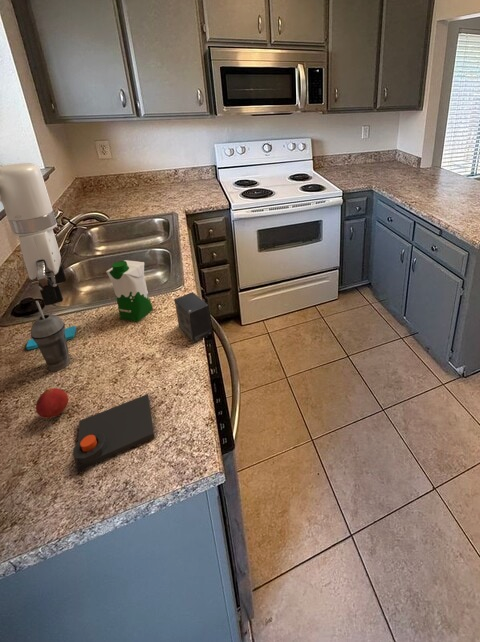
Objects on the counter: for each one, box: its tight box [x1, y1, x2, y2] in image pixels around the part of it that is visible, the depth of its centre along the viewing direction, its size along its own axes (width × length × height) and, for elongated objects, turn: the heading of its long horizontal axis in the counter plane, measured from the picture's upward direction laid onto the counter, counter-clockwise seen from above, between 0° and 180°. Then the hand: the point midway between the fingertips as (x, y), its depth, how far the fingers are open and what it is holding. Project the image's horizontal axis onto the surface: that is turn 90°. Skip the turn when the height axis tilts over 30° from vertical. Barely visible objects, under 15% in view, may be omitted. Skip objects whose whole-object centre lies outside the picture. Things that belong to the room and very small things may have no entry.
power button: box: [80, 435, 97, 452], centre depth 72 cm, size 3×3×2 cm
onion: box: [35, 386, 69, 419], centre depth 81 cm, size 6×6×8 cm
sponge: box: [25, 325, 77, 351], centre depth 107 cm, size 2×12×6 cm
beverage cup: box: [30, 300, 71, 372], centre depth 94 cm, size 7×7×20 cm
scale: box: [72, 393, 155, 473], centre depth 78 cm, size 14×12×3 cm
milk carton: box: [105, 259, 154, 323], centre depth 115 cm, size 9×9×20 cm
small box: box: [173, 291, 213, 344], centre depth 108 cm, size 11×6×10 cm, turn 44°
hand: (56, 292), depth 81 cm, fingers open, 9 cm apart
